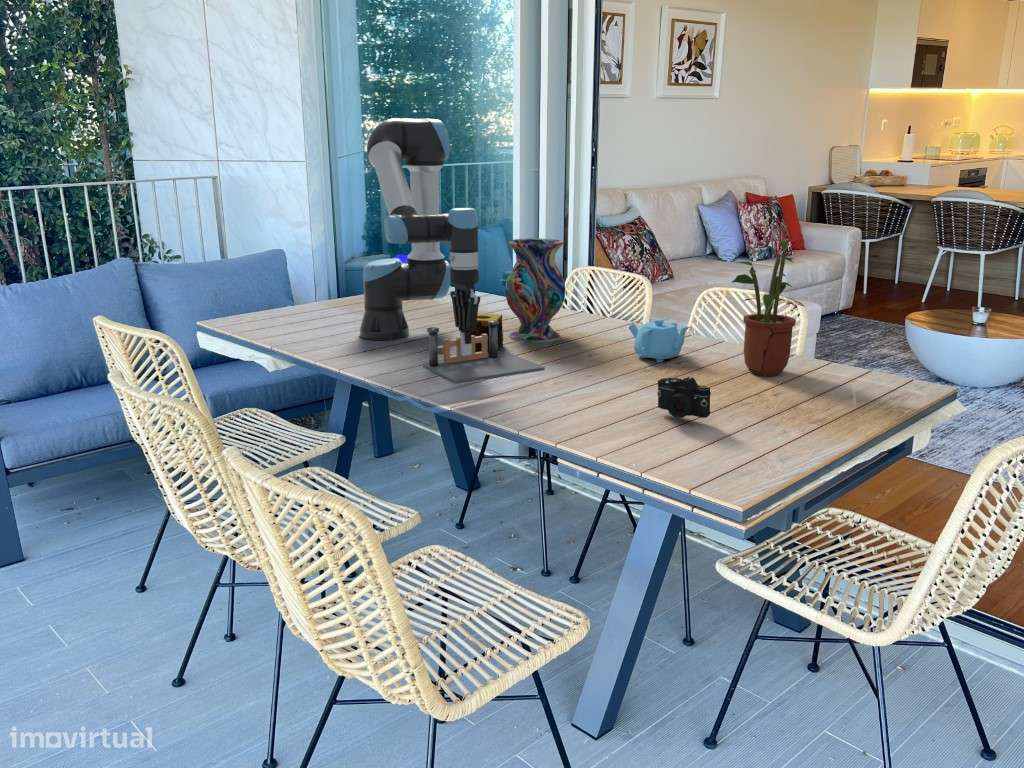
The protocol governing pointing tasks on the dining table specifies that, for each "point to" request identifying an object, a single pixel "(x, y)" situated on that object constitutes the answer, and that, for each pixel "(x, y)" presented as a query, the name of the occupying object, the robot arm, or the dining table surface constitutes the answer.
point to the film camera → (684, 397)
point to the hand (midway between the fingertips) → (466, 354)
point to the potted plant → (767, 324)
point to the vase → (535, 289)
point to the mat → (484, 368)
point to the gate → (456, 342)
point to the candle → (487, 329)
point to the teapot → (658, 340)
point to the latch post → (434, 346)
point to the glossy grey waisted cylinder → (493, 338)
